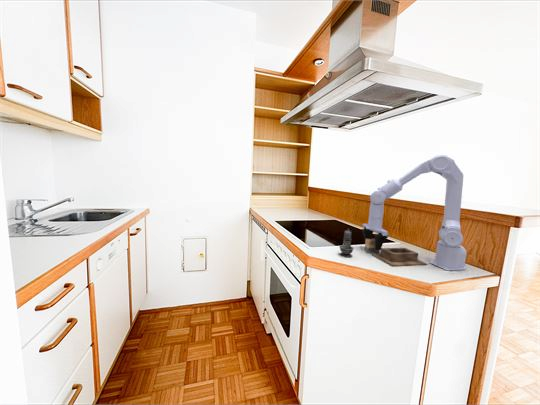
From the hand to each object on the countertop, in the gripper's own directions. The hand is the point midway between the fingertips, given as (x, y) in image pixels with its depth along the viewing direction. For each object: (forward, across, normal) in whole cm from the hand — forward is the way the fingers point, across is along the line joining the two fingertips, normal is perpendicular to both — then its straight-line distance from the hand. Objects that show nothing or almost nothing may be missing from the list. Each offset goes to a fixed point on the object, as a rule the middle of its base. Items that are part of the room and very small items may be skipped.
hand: (372, 246), depth 102 cm
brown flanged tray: (+2, +10, +5) cm, 11 cm away
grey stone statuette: (+3, +3, -15) cm, 16 cm away
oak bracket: (+2, 0, 0) cm, 2 cm away
